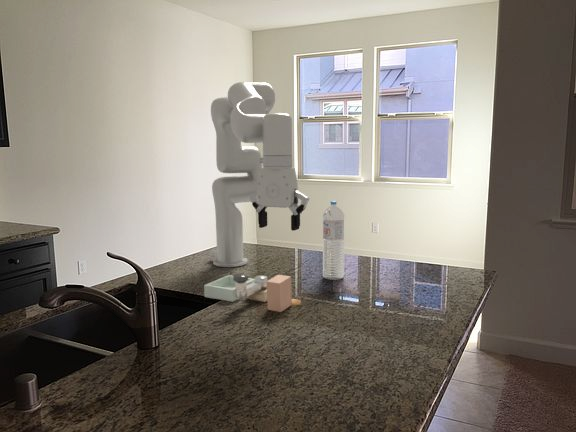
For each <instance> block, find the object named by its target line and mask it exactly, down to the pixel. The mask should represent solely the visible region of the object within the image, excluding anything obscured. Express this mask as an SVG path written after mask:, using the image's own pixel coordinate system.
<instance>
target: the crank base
mask: <svg viewBox="0 0 576 432" xmlns="http://www.w3.org/2000/svg"><path fill="white" fill-rule="evenodd" d="M246 299H248V300H253V301H257V302H258V301H259V302H264V303H265V302H267V288H266V289H261V290H259V291H257V292H255V293H253V294H251V295H250V296H248V297H247V298H246ZM301 303H302V301H301V300H300V299H297V298H292V305H291V306H292V307H293V306H299V305H301ZM291 306H290V307H291Z"/></svg>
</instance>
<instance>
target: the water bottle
mask: <svg viewBox="0 0 576 432" xmlns="http://www.w3.org/2000/svg"><path fill="white" fill-rule="evenodd" d="M337 202H338V201H337V200H332V201H330V206H328V208H325V210H324V212H323V214H322V222H323V223H322V224H323V225H322V229H323V230H322V276H323V277H322V278H323V279H326V280H329V281H337V280H338V281H339V280H341V279H343V278H344V276H345V237H344V236H345V235H344V234H345V232H344V230H345V227H344V225H345V224H344V223H345V214H344V212H343V210H342V209H341V208H340V207H338V206H337Z"/></svg>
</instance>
